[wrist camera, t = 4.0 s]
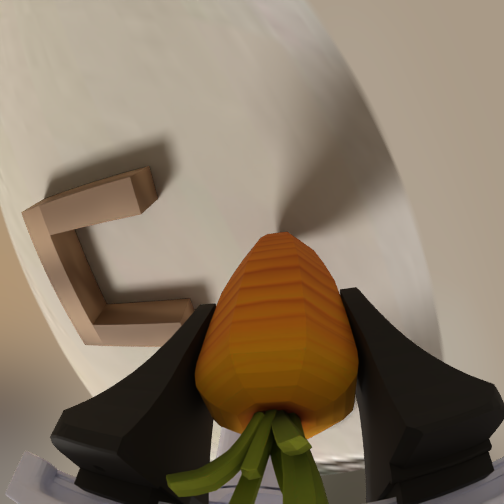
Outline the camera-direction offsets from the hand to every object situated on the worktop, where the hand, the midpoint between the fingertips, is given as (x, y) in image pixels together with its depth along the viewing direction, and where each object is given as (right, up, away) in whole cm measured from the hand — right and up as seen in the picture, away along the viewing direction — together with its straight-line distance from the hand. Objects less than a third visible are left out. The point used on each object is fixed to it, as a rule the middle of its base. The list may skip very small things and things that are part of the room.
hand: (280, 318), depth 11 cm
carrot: (+1, +3, +6) cm, 7 cm away
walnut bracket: (-9, +2, +8) cm, 12 cm away
